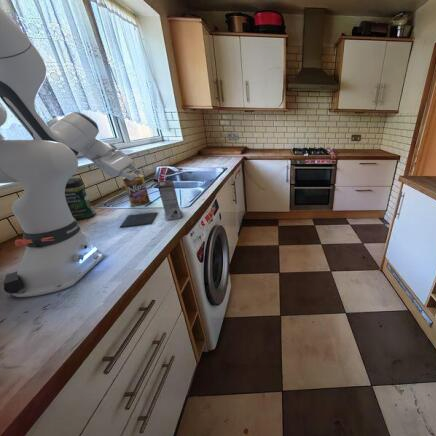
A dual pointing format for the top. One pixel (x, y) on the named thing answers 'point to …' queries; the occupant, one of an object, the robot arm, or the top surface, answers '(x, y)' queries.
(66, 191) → the dark green food bag
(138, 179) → the candy box
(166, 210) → the coffee box
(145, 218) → the mat
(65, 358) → the top surface
